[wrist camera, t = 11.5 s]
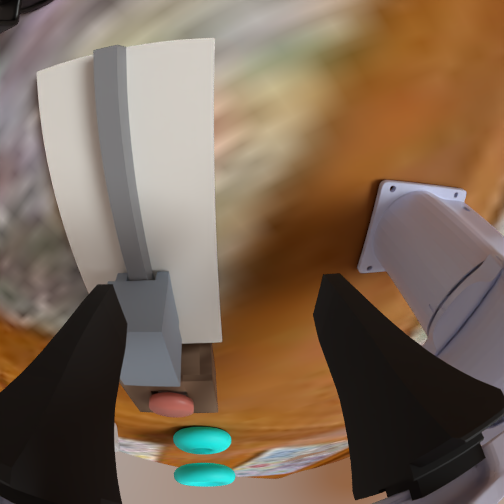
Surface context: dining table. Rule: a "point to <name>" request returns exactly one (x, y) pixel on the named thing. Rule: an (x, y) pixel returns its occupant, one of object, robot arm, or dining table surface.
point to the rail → (139, 169)
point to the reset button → (171, 404)
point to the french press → (16, 11)
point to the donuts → (203, 443)
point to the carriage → (150, 331)
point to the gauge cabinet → (186, 380)
